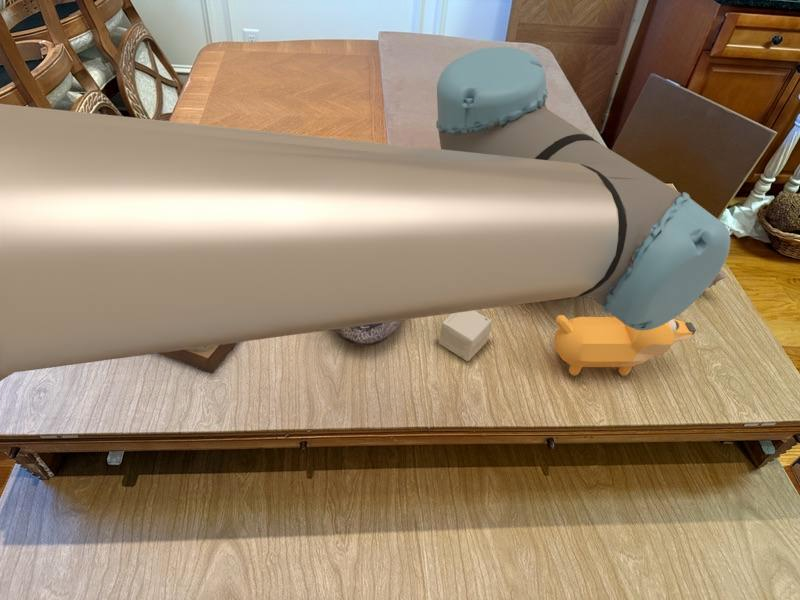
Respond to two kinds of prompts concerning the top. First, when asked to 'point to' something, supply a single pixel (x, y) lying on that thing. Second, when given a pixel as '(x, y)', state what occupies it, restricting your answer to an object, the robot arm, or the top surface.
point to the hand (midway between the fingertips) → (189, 223)
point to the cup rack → (202, 356)
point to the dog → (614, 342)
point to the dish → (368, 333)
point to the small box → (465, 333)
